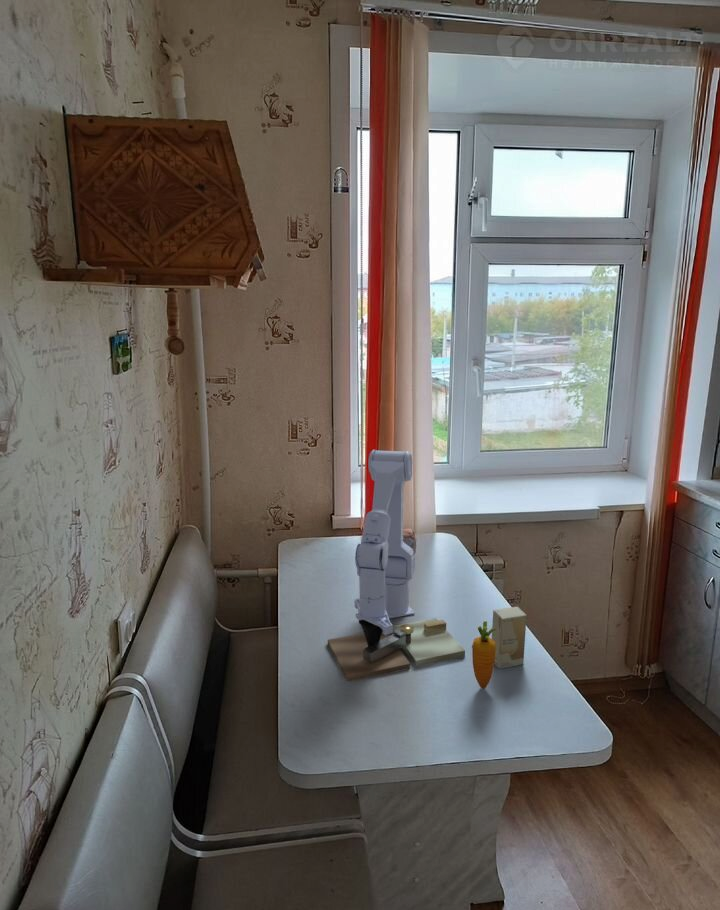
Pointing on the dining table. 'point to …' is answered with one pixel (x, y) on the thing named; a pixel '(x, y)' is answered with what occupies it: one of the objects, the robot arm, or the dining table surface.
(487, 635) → the carrot
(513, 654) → the skincare box
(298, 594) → the dining table surface
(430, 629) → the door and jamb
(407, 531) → the food item
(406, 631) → the swing bar
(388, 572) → the robot arm
